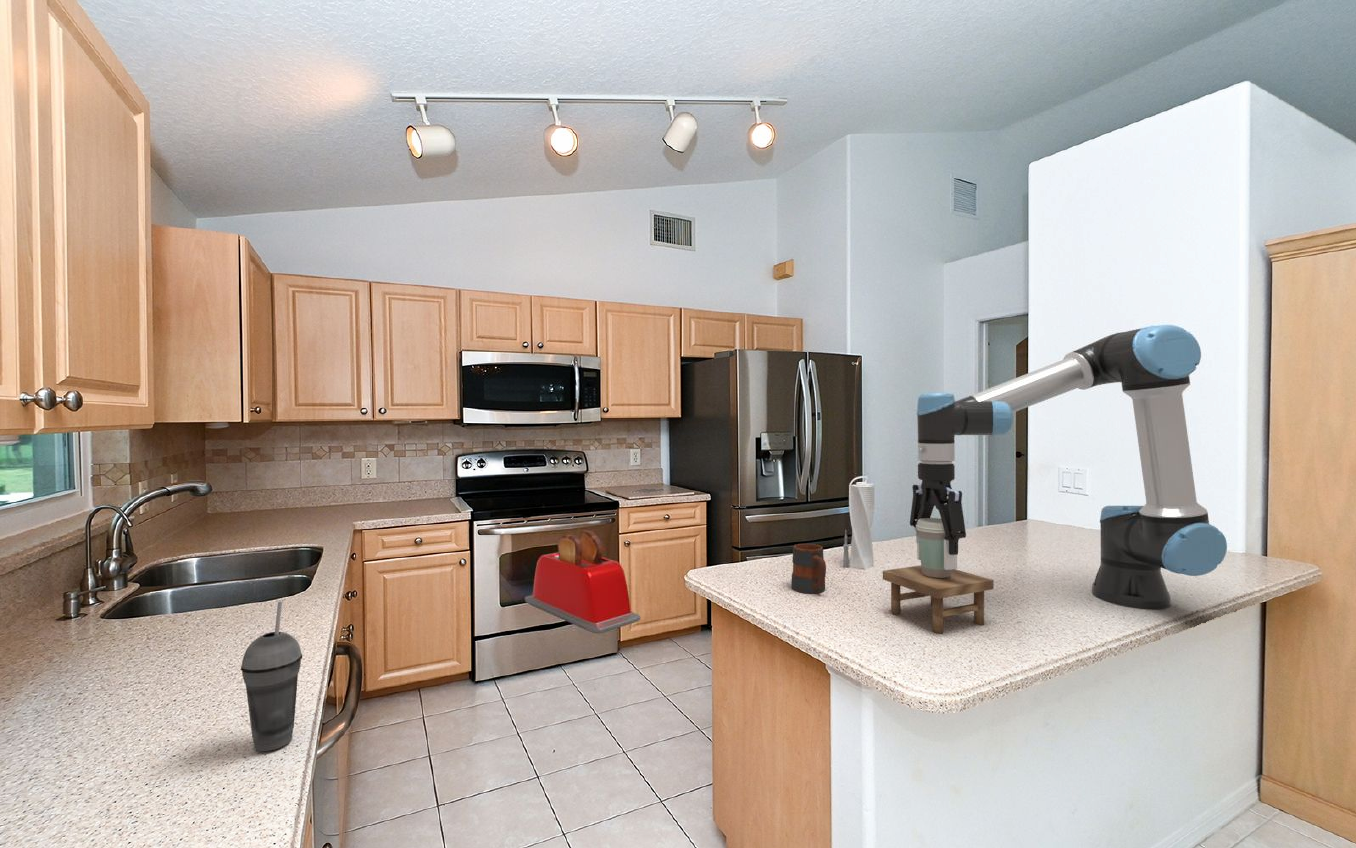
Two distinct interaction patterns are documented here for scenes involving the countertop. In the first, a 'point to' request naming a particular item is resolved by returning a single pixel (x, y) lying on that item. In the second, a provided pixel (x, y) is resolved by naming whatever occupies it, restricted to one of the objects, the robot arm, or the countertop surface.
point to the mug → (808, 569)
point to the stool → (938, 592)
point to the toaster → (582, 585)
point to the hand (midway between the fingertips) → (936, 563)
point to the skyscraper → (860, 525)
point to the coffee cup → (932, 547)
